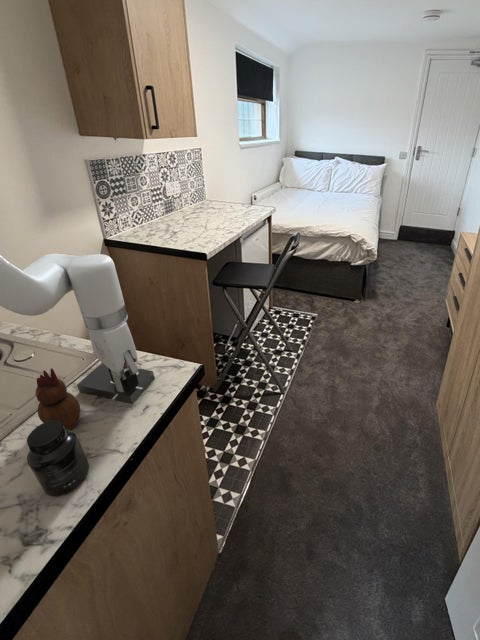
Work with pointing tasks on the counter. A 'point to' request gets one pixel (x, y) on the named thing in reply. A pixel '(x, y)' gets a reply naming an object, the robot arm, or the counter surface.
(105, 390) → the hob
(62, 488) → the supplement bottle
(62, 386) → the wooden figurine
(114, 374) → the hob knob
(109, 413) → the counter surface
